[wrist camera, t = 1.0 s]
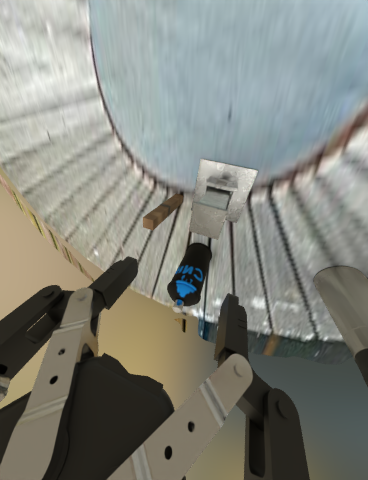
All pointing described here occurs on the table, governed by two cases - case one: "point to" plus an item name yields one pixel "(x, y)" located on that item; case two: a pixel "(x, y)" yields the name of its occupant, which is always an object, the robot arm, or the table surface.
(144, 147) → the table surface
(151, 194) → the table surface
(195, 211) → the grey-green long block
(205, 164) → the stand base
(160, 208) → the banded wooden rod
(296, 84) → the table surface
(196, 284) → the aerosol can
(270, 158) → the table surface
